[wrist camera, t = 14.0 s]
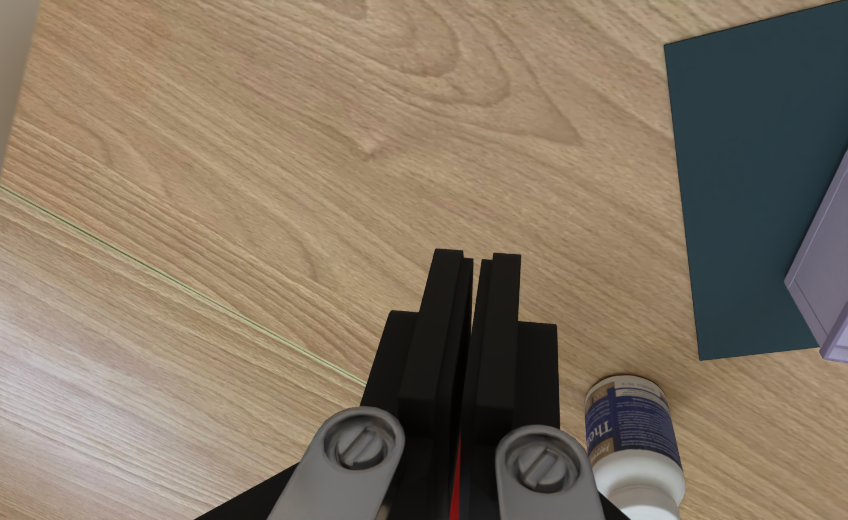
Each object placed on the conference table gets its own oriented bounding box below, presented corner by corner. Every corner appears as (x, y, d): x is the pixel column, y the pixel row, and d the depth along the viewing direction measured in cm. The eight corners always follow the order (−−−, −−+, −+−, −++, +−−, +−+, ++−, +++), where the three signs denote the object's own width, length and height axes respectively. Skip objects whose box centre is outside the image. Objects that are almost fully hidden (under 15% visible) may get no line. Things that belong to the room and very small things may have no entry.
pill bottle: (590, 367, 42) (601, 490, 34) (675, 377, 41) (707, 506, 33) (577, 424, 45) (584, 550, 37) (656, 435, 44) (681, 566, 36)
